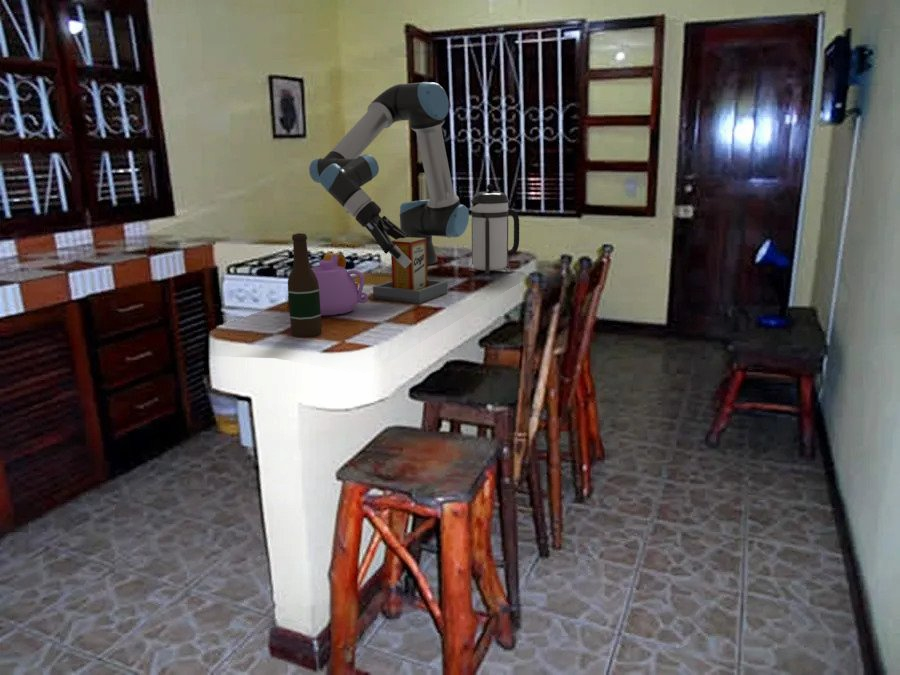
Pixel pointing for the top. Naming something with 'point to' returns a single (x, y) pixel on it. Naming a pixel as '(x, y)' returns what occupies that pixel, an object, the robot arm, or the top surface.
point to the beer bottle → (303, 292)
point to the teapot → (338, 288)
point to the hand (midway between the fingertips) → (414, 261)
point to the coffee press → (492, 231)
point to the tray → (410, 292)
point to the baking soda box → (416, 270)
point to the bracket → (340, 261)
